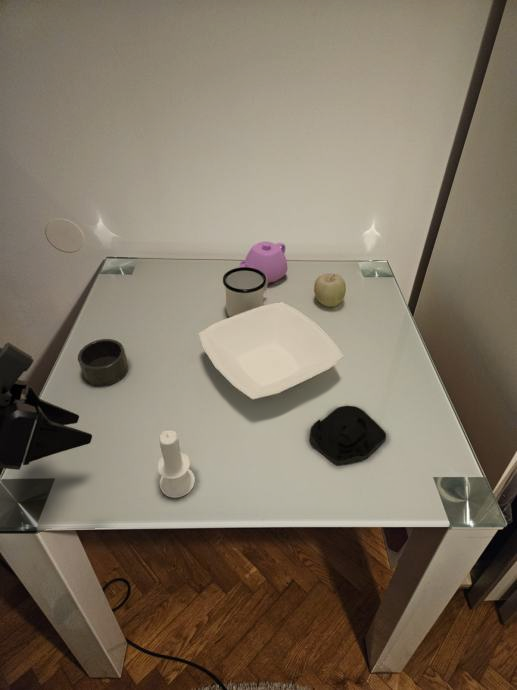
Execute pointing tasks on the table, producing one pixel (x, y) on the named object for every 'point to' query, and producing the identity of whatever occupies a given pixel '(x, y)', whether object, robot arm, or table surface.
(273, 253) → the teapot
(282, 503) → the table surface
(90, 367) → the holder
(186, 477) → the candle
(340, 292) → the fruit
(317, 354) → the bowl
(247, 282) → the mug
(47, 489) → the table surface
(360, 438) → the black low lumpy piece
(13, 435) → the robot arm
